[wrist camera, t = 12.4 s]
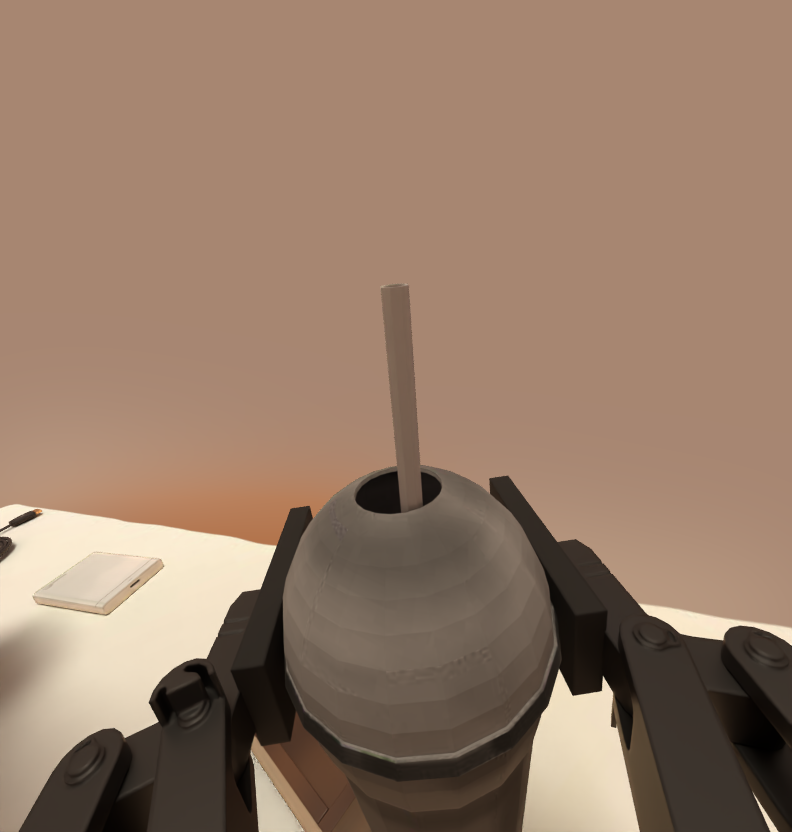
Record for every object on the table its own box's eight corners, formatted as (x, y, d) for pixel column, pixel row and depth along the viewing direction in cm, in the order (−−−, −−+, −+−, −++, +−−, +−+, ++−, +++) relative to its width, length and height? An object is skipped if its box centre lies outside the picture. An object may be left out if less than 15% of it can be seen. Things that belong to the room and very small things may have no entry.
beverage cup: (469, 699, 18) (427, 281, 12) (606, 898, 12) (678, 241, 6) (332, 796, 16) (176, 317, 9) (417, 1122, 9) (105, 318, 3)
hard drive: (30, 594, 46) (100, 605, 42) (95, 550, 53) (160, 556, 50) (36, 604, 46) (106, 616, 43) (100, 559, 54) (164, 566, 50)
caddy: (225, 711, 31) (205, 664, 29) (346, 602, 40) (336, 560, 38) (346, 894, 20) (326, 838, 19) (471, 689, 30) (466, 638, 28)
